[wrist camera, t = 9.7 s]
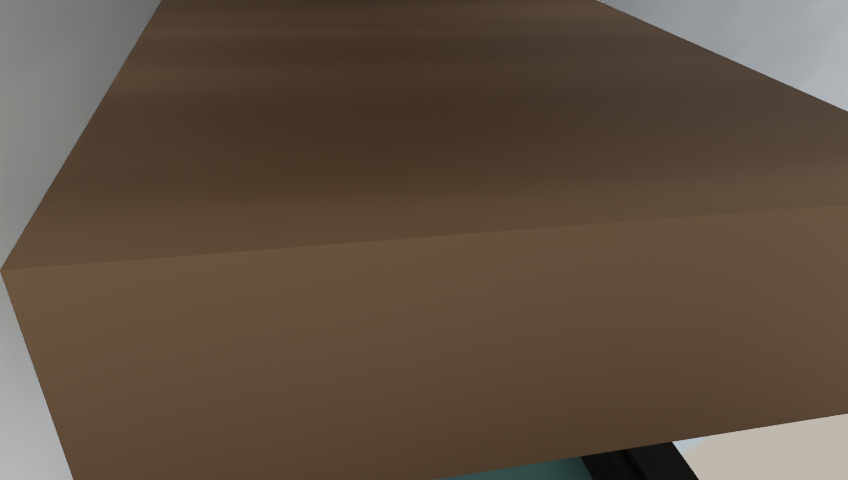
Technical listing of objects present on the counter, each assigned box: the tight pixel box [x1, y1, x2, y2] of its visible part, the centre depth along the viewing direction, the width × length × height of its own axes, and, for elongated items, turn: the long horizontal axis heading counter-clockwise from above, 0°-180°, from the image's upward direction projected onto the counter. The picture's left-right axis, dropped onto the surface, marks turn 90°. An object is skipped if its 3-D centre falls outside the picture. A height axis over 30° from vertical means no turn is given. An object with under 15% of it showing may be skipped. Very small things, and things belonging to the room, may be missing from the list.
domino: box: [0, 0, 848, 480], centre depth 8 cm, size 2×5×10 cm, turn 87°
